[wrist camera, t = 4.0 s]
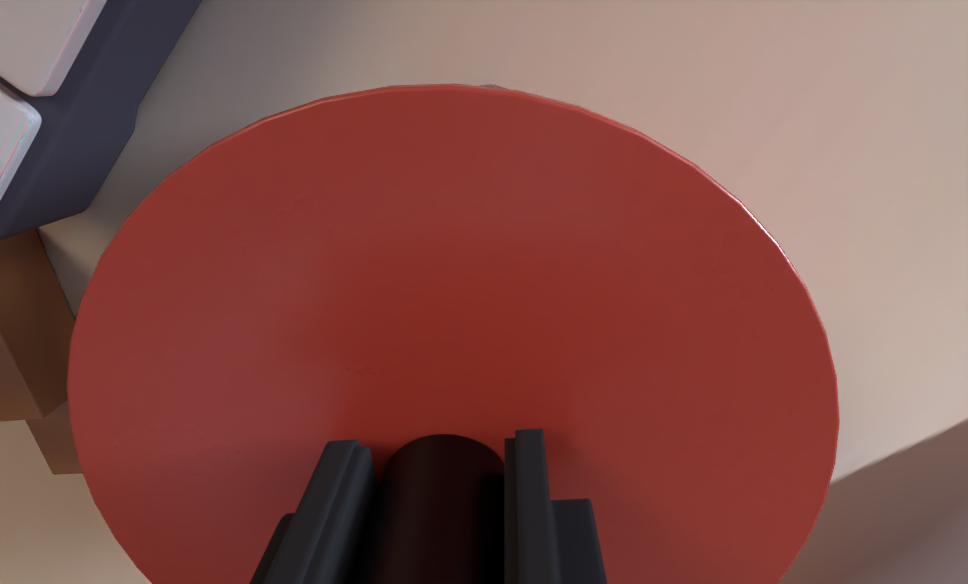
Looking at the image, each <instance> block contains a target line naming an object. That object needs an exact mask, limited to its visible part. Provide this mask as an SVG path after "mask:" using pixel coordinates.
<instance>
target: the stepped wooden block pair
mask: <svg viewBox="0 0 968 584" xmlns="http://www.w3.org/2000/svg"><path fill="white" fill-rule="evenodd" d="M74 326H75V319H74V317H73V315H72V312H71V310H70V308H69V306H68V303H67V301H66V299H65V296H64V294H63V292H62V289H61V287H60V285H59V282H58V280H57V278H56V275H55V273H54V271H53V269H52V266H51V264H50V262H49V259H48V257H47V255H46V252H45V250H44V248H43V245H42V243H41V241H40V239H39V236H38V234H37V232H36V229H35V228H34V229H31V230H28V231H25V232H22V233H18V234H15V235H12V236H9V237H6V238H3V239H0V421H10V420H26V422H27V424H28V426H29V428H30V430H31V432H32V434H33V436H34V438H35V440H36V442H37V444H38V446H39V448H40V450H41V452H42V454H43V456H44V458H45V459H46V461H47V463H48V465H49V467H50V469H51V471H52V473H53V474H72V473H83V472H82V470H81V467H80V465H79V460H78V456H77V452H76V448H75V444H74V440H73V436H72V432H71V428H70V419H69V407H68V395H67V375H68V363H69V350H70V341H71V337H72V333H73V330H74Z"/></svg>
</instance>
